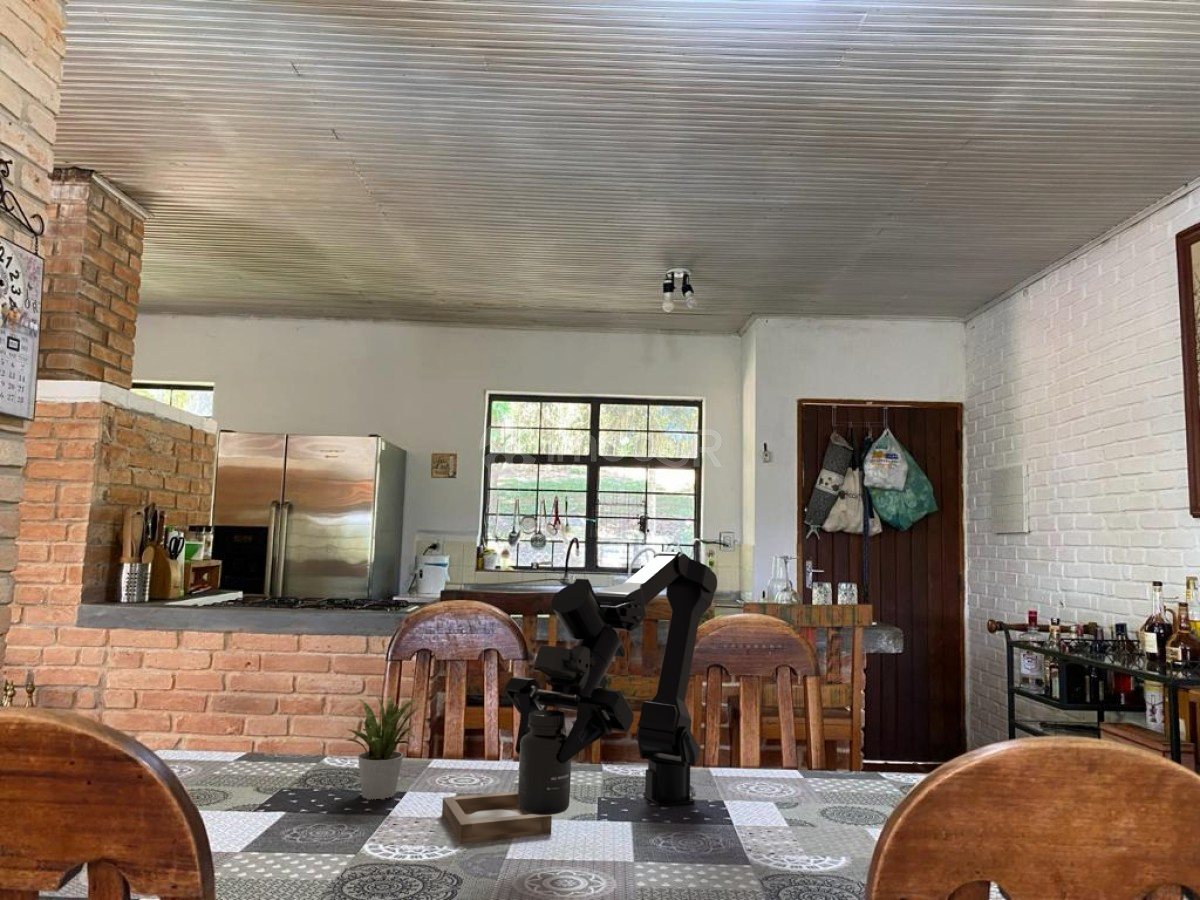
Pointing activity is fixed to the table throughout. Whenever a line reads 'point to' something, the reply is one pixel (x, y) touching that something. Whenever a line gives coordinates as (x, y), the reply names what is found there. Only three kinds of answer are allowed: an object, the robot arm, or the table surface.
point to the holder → (491, 817)
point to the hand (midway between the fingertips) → (538, 757)
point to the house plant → (382, 749)
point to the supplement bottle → (544, 765)
